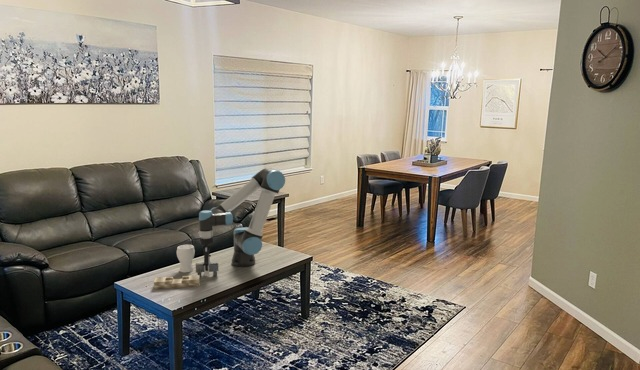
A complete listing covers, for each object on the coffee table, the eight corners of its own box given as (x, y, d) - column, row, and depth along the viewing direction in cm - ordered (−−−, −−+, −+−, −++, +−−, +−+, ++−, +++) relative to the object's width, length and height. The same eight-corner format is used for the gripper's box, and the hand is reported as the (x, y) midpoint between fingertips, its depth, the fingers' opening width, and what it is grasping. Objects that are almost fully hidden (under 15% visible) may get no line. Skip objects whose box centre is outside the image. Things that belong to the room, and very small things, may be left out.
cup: (190, 274, 278) (189, 250, 275) (174, 272, 280) (173, 248, 277) (198, 268, 288) (197, 244, 285) (182, 266, 290) (181, 243, 287)
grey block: (218, 274, 277) (218, 261, 276) (218, 276, 275) (218, 263, 273) (196, 275, 275) (195, 263, 273) (196, 277, 272) (195, 264, 271)
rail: (199, 281, 266) (199, 275, 265) (199, 286, 259) (198, 279, 258) (156, 284, 261) (155, 277, 260) (154, 289, 254) (153, 282, 254)
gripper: (200, 231, 282) (201, 264, 286) (198, 243, 258) (199, 279, 261) (213, 231, 283) (214, 264, 287) (212, 242, 259) (213, 278, 263)
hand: (207, 271), depth 274 cm, fingers open, 13 cm apart
